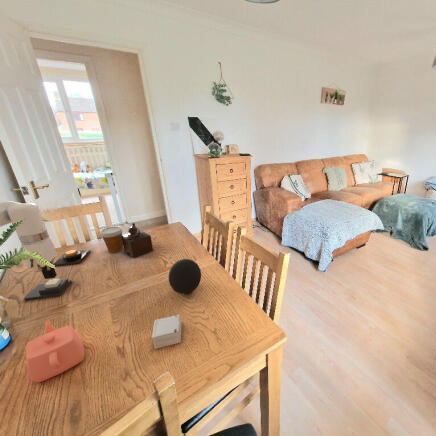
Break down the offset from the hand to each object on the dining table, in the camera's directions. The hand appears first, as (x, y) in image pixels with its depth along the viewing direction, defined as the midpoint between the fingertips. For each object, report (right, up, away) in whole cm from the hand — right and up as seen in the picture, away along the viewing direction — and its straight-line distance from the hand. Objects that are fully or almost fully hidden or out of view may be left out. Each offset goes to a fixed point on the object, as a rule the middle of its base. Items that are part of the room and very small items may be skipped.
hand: (51, 277), depth 95 cm
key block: (-13, +3, +24) cm, 27 cm away
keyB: (-13, +6, +23) cm, 27 cm away
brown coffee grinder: (+16, +5, +32) cm, 36 cm away
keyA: (0, -4, +1) cm, 4 cm away
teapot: (+28, -19, -25) cm, 42 cm away
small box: (+55, -16, -15) cm, 59 cm away
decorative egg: (+52, -8, +6) cm, 53 cm away
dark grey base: (-2, -6, +2) cm, 7 cm away
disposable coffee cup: (+2, +6, +33) cm, 34 cm away
